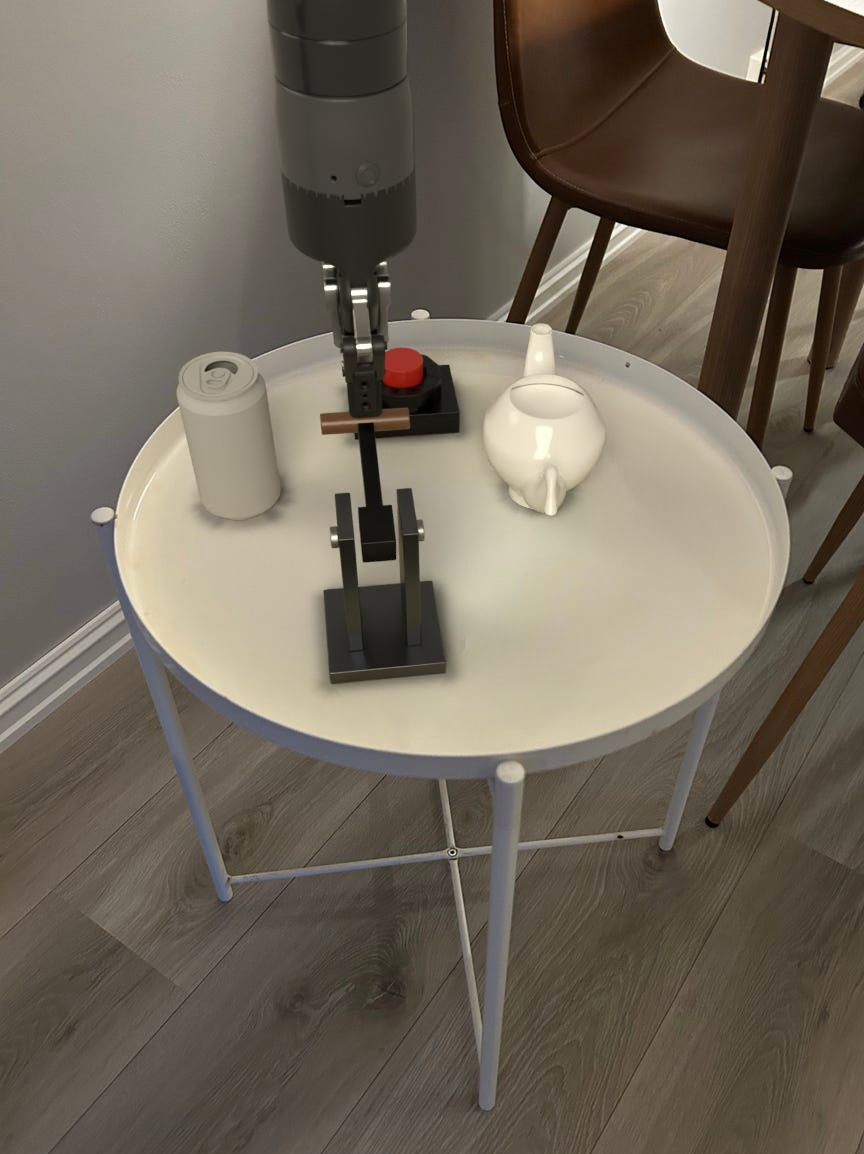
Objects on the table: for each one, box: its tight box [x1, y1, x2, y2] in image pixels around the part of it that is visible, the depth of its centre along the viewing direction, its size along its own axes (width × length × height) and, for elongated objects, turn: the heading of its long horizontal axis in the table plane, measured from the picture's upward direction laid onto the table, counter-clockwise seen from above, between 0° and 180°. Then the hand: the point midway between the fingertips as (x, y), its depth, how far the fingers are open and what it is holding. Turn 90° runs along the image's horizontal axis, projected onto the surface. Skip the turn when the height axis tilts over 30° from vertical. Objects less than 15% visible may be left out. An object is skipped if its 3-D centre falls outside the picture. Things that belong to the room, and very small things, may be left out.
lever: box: [319, 408, 410, 564], centre depth 71 cm, size 11×6×2 cm, turn 8°
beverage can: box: [176, 351, 282, 521], centre depth 81 cm, size 6×6×12 cm
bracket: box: [322, 487, 447, 685], centre depth 72 cm, size 8×8×12 cm
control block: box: [353, 353, 461, 441], centre depth 93 cm, size 9×7×4 cm
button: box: [382, 347, 423, 388], centre depth 91 cm, size 4×4×2 cm
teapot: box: [481, 323, 607, 516], centre depth 84 cm, size 10×20×9 cm, turn 0°
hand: (365, 410), depth 73 cm, fingers closed
